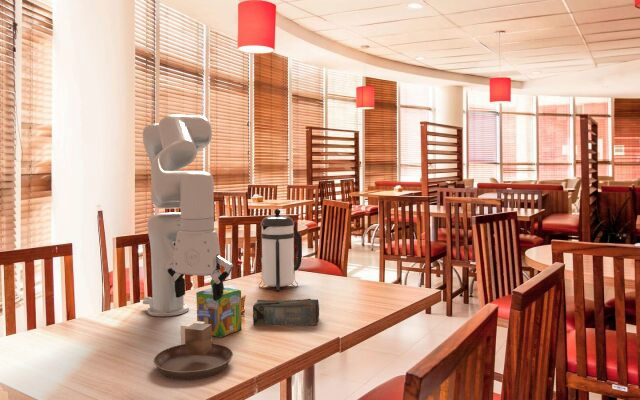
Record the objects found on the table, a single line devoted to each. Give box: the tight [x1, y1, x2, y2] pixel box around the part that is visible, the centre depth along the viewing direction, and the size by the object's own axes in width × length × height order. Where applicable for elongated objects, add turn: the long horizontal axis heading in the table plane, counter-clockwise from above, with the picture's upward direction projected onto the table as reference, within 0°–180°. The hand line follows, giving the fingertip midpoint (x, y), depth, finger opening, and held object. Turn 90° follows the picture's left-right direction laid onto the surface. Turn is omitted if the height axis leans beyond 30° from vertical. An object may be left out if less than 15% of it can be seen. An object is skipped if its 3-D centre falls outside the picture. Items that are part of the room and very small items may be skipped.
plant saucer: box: [153, 342, 234, 381], centre depth 119 cm, size 18×18×3 cm
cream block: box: [179, 320, 205, 345], centre depth 132 cm, size 4×4×6 cm
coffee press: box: [258, 208, 303, 293], centre depth 197 cm, size 17×16×30 cm
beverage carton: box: [252, 298, 320, 326], centre depth 153 cm, size 8×19×7 cm, turn 87°
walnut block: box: [185, 323, 213, 356], centre depth 121 cm, size 4×4×6 cm
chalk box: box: [196, 279, 242, 338], centre depth 144 cm, size 9×9×15 cm
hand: (198, 297), depth 121 cm, fingers open, 9 cm apart
